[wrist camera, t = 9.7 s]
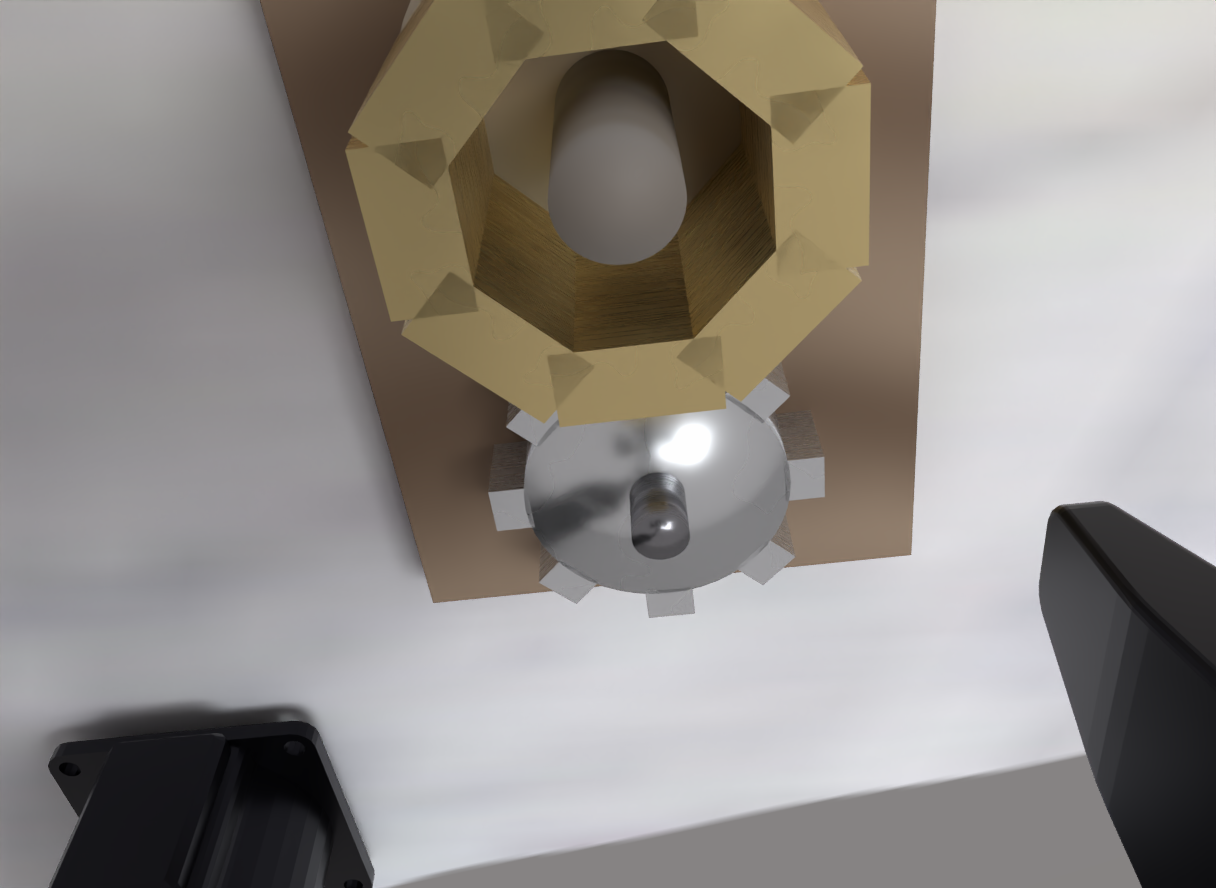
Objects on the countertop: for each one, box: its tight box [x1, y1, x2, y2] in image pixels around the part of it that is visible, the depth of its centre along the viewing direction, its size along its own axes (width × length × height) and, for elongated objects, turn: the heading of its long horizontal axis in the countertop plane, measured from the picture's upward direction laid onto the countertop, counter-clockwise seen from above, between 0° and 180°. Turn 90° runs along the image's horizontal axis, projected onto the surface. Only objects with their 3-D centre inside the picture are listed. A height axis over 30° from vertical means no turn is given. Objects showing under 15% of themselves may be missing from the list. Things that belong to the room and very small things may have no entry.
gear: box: [488, 362, 825, 618], centre depth 20 cm, size 6×6×3 cm
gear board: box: [260, 0, 936, 603], centre depth 16 cm, size 20×10×5 cm, turn 7°
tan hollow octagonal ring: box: [345, 0, 871, 427], centre depth 16 cm, size 6×6×4 cm
